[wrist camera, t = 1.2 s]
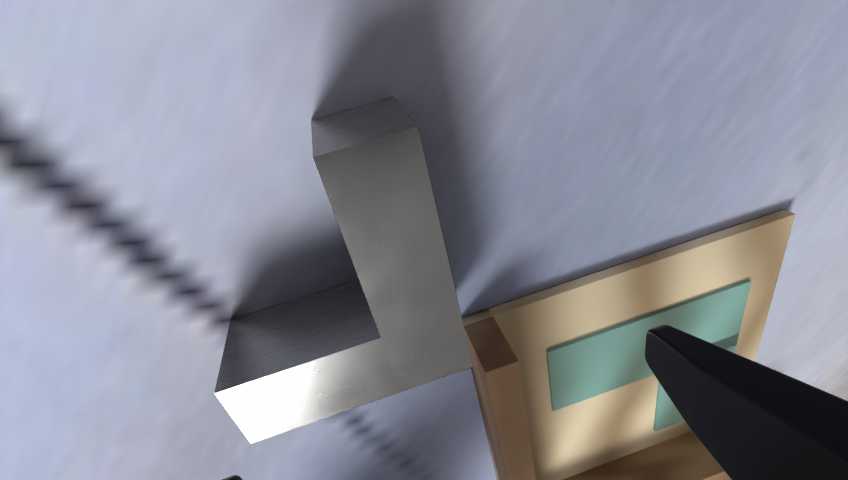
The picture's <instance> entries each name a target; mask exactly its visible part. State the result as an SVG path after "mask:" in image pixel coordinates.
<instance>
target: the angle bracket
mask: <svg viewBox="0 0 848 480" xmlns="http://www.w3.org/2000/svg"><path fill="white" fill-rule="evenodd" d="M311 125H312V144H313V158H314V161H315V163H316V166H317V169H318V171H319V174H320V177H321V179H322V182H323V185H324V187H325V190H326V193H327V195H328V198H329V201H330V203H331V206H332V209H333V211H334V214H335V217H336V219H337V222H338V225H339V227H340V230H341V233H342V235H343V238H344V241H345V243H346V246H347V249H348V251H349V254H350V257H351V259H352V262H353V265H354V267H355V270H356V273H357V275H358V278H359V279H356V280H353V281H350V282H347V283H344V284H341V285H338V286H334V287H331V288H328V289H325V290H322V291H319V292H316V293H313V294H310V295H306V296H303V297H300V298H297V299H294V300H291V301H288V302H285V303H281V304H278V305H275V306H272V307H269V308H266V309H263V310H260V311H256V312H253V313H250V314H247V315H244V316H241V317H238V318H235V319H232V320H231V321H230V325H229V330H228V334H227V339H226V343H225V348H224V352H223V357H222V361H221V366H220V370H219V375H218V379H217V384H216V388H215V393H214V394H215V395H216V396H217V398H218V399H219V401H220V402H221V403H222V405H223V406H224V407H225V409H226V410H227V412H228V413H229V414H230V416H231V417H232V418H233V420H234V421H235V423H236V424H237V425H238V427H239V428H240V429H241V431H242V432H243V434H244V435H245V436H246V438H247V439H248V440H249V442H250V443H251V444H252V443H254V442H257V441H260V440H263V439H266V438H269V437H272V436H275V435H278V434H280V433H283V432H286V431H289V430H292V429H295V428H298V427H301V426H304V425H306V424H309V423H312V422H315V421H318V420H321V419H324V418H327V417H330V416H332V415H335V414H338V413H341V412H344V411H347V410H350V409H353V408H356V407H358V406H361V405H364V404H367V403H370V402H373V401H376V400H379V399H382V398H384V397H387V396H390V395H393V394H396V393H399V392H402V391H405V390H408V389H410V388H413V387H416V386H419V385H422V384H425V383H428V382H431V381H434V380H436V379H439V378H442V377H445V376H448V375H451V374H454V373H457V372H460V371H462V370H465V369H468V368H471V367H473V365H472V360H471V356H470V352H469V347H468V343H467V339H466V334H465V330H464V326H463V321H462V317H461V313H460V308H459V304H458V300H457V295H456V291H455V286H454V282H453V278H452V273H451V269H450V265H449V260H448V256H447V252H446V247H445V243H444V239H443V234H442V230H441V226H440V221H439V217H438V212H437V208H436V204H435V199H434V195H433V191H432V186H431V182H430V178H429V173H428V169H427V165H426V160H425V156H424V152H423V147H422V143H421V138H420V134H419V130H418V126H417V125H416V124H415V123H414V121H413V120H412V119H411V118H410V116H409V115H408V114H407V113H406V112H405V110H404V109H403V108H402V107H401V105H400V104H399V103H398V102H397V100H396V99H395V98H394V97H390V98H387V99H383V100H380V101H376V102H373V103H369V104H366V105H362V106H359V107H355V108H352V109H348V110H345V111H341V112H338V113H334V114H331V115H327V116H324V117H320V118H317V119H313V120H311Z"/></svg>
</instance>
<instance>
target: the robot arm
mask: <svg viewBox="0 0 848 480" xmlns="http://www.w3.org/2000/svg"><path fill="white" fill-rule="evenodd" d="M645 359H646V362H647V364H648V366H649V368H650V369H651V371H652V372H653V374H654V375H655V377H656V378H657V380H658V381H659V383H660V384H661V386H662V387H663V389H664V390H665V392H666V393H667V395H668V396H669V398H670V399H671V401H672V402H673V404H674V405H675V407H676V408H677V410H678V411H679V413H680V415H681V416H682V418H683V419H684V420H685V422H686V423H687V425H688V426H689V428H690V429H691V430H692V431H693V433H694V434H695V435H696V437H697V438H698V439H699V440H700V442H701V443H702V444H703V445H704V447H705V448H706V449H707V450H708V451H709V453H710V454H711V455H712V456H713V458H714V459H715V460H716V461H717V463H718V464H719V465H720V466H721V467H722V469H723V470H724V471H725V472H726V474H727V475H728V476H729V477H730V479H731V480H848V401H846V400H844V399H841V398H839V397H837V396H834V395H832V394H830V393H827V392H825V391H823V390H820V389H818V388H816V387H813V386H811V385H809V384H806V383H804V382H801V381H799V380H797V379H794V378H792V377H790V376H787V375H785V374H783V373H780V372H778V371H776V370H773V369H771V368H769V367H766V366H764V365H761V364H759V363H757V362H754V361H752V360H750V359H747V358H745V357H743V356H740V355H738V354H736V353H733V352H731V351H729V350H726V349H724V348H721V347H719V346H717V345H714V344H712V343H710V342H707V341H705V340H703V339H700V338H698V337H696V336H693V335H691V334H689V333H686V332H684V331H681V330H679V329H677V328H674V327H672V326H669V325H660V326H657V327H654V328H652V329H649V330H648V331H647V333H646V343H645ZM222 480H242V479H241V477H240V476H237V475H234V476H231V477H228V478H225V479H222Z"/></svg>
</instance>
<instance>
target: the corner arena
mask: <svg viewBox="0 0 848 480" xmlns="http://www.w3.org/2000/svg"><path fill="white" fill-rule="evenodd" d="M794 217H795V214H794V213H791V212H789V211H787V210H785V209H784V210H781V211H778V212H775V213H772V214H769V215H766V216H763V217H760V218H757V219H754V220H751V221H748V222H745V223H742V224H739V225H736V226H733V227H730V228H727V229H724V230H721V231H718V232H715V233H712V234H709V235H706V236H703V237H700V238H697V239H694V240H691V241H688V242H685V243H682V244H679V245H676V246H673V247H670V248H667V249H664V250H661V251H658V252H655V253H653V254H650V255H647V256H644V257H641V258H638V259H635V260H632V261H629V262H626V263H623V264H620V265H617V266H614V267H611V268H608V269H605V270H602V271H599V272H596V273H593V274H590V275H587V276H584V277H581V278H578V279H575V280H572V281H569V282H566V283H563V284H560V285H557V286H554V287H551V288H548V289H545V290H542V291H539V292H536V293H533V294H530V295H527V296H524V297H521V298H518V299H515V300H512V301H509V302H507V303H504V304H501V305H498V306H495V307H492V308H489V309H486V310H483V311H480V312H477V313H474V314H471V315H468V316H465V317H462V321H463V326H464V330H465V334H466V339H467V343H468V347H469V352H470V356H471V360H472V365H473V367H471V369H472V374H473V378H474V382H475V386H476V391H477V395H478V399H479V404H480V408H481V412H482V416H483V421H484V425H485V429H486V434H487V438H488V442H489V446H490V451H491V455H492V459H493V464H494V468H495V472H496V476H497V480H731V479H730V477H729V476H728V475H727V474H726V472H725V471H724V470H723V469H722V467H721V466H720V465H719V464H718V463H717V461H716V460H715V459H714V458H713V456H712V455H711V454H710V453H709V451H708V450H707V449H706V448H705V447H704V445H703V444H702V443H701V442H700V440H699V439H698V438H697V437H696V435H695V434H694V433H693V431H692V430H691V429H690V428H689V426H688V425H687V423H686V422H685V420H684V419H683V418H682V416H681V415H680V413H679V411H678V410H677V408H676V407H675V405H674V404H673V402H672V401H671V399H670V398H669V396H668V395H667V393H666V392H665V390H664V389H663V387H662V386H661V384H660V383H659V381H658V380H657V378H656V377H655V375H654V374H653V372H652V371H651V369H650V368H649V366H648V364H647V362H646V359H645V343H646V333H647V331H648V330H649V329H652V328H654V327H657V326H660V325H669V326H672V327H674V328H677V329H679V330H681V331H684V332H686V333H689V334H691V335H693V336H696V337H698V338H700V339H703V340H705V341H707V342H710V343H712V344H714V345H717V346H719V347H721V348H724V349H726V350H729V351H731V352H733V353H736V354H738V355H740V356H743V357H745V358H747V359H750V360H752V361H754V362H755V359H756V355H757V352H758V348H759V344H760V341H761V337H762V333H763V330H764V326H765V322H766V319H767V315H768V311H769V308H770V304H771V301H772V297H773V293H774V290H775V286H776V282H777V279H778V275H779V271H780V268H781V264H782V260H783V257H784V253H785V250H786V246H787V242H788V239H789V235H790V231H791V228H792V224H793V220H794Z"/></svg>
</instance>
